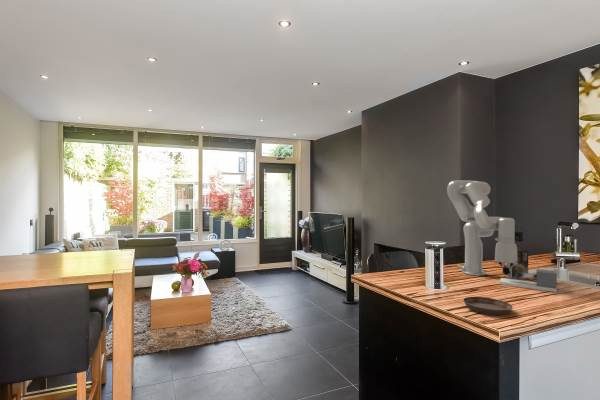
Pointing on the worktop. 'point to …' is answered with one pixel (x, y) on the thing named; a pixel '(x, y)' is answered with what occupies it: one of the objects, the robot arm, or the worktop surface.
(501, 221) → the robot arm
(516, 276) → the shaft
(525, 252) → the coffee box
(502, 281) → the base board
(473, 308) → the plant saucer
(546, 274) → the block
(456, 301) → the worktop surface
